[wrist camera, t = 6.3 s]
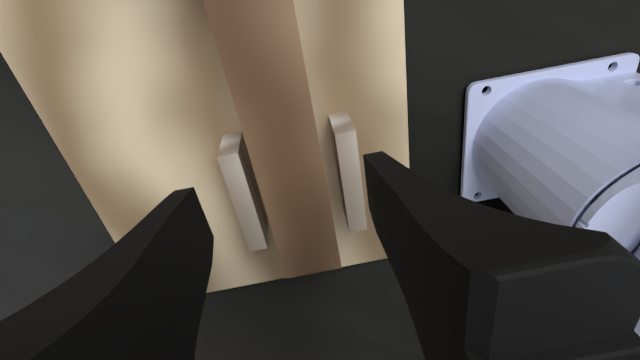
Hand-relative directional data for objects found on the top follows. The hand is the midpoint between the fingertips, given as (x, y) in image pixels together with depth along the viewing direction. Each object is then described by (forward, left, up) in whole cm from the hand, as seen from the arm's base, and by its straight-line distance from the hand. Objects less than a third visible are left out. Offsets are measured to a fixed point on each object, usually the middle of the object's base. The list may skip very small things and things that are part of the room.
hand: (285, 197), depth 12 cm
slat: (0, 0, -8) cm, 8 cm away
